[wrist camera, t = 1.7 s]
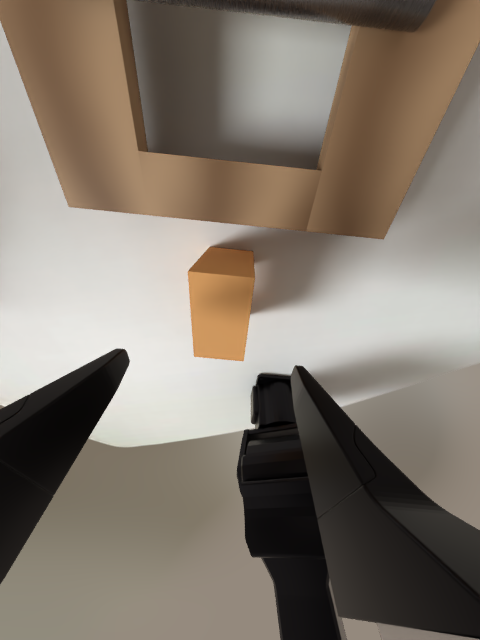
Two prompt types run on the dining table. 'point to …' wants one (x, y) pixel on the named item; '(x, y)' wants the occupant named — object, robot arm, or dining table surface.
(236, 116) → the dining table surface
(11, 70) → the dining table surface
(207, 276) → the bracket
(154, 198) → the cutout shelf
